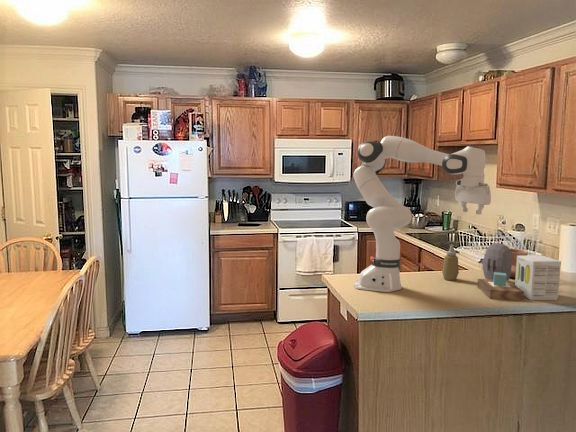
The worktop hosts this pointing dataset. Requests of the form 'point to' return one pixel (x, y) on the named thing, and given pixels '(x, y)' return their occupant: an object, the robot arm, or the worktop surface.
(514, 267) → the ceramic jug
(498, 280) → the teal cube
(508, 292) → the walnut plinth
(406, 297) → the worktop surface
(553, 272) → the supplement box
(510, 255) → the small grey backpack
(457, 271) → the squeeze bottle
